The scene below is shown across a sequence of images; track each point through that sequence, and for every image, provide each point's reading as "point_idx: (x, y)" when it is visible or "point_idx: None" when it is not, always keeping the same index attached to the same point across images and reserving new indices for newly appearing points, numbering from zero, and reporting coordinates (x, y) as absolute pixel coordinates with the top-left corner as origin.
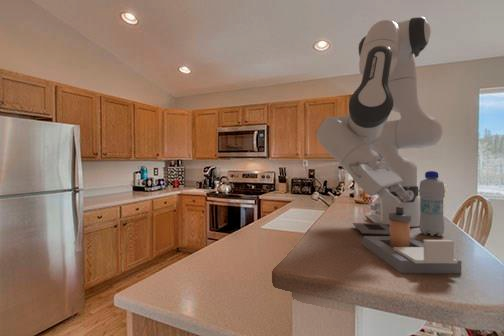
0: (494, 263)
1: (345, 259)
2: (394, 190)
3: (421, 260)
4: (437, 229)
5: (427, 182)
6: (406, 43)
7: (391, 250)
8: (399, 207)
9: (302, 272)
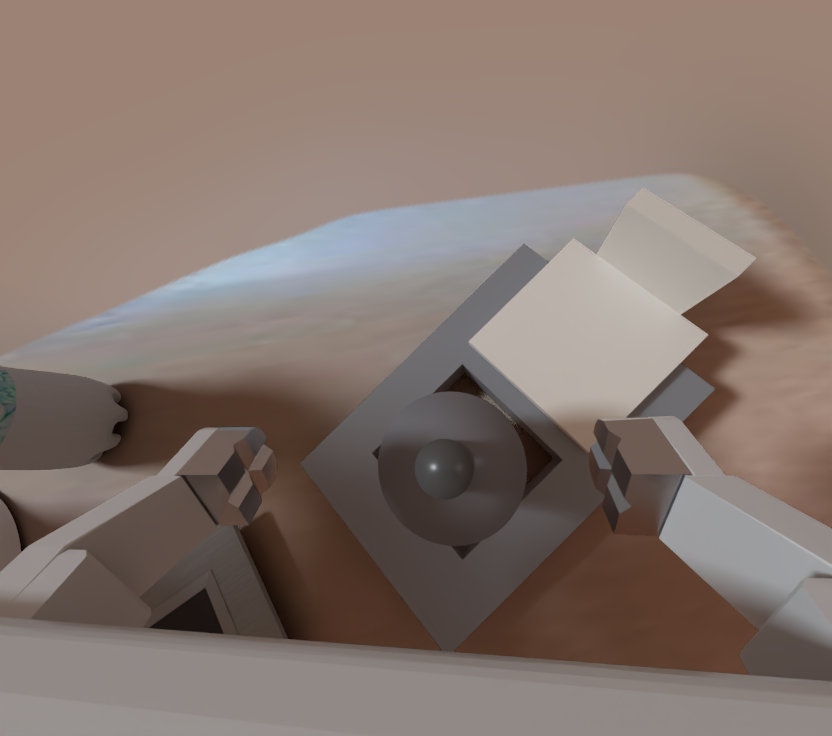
0: (348, 223)
1: (733, 631)
2: (131, 622)
3: (687, 320)
4: (100, 393)
5: None
6: None
7: None
8: (459, 466)
9: None
